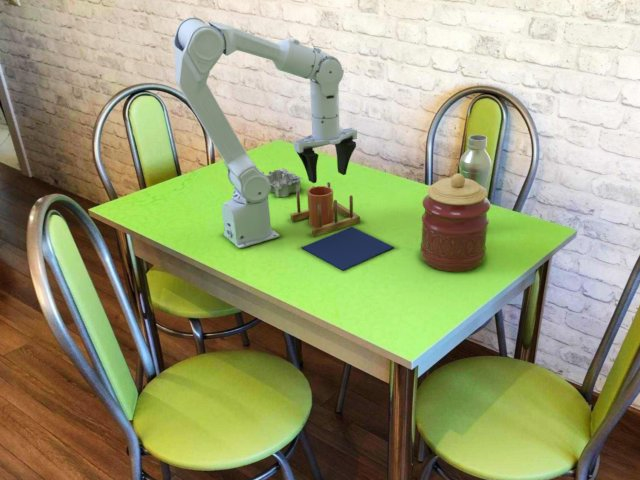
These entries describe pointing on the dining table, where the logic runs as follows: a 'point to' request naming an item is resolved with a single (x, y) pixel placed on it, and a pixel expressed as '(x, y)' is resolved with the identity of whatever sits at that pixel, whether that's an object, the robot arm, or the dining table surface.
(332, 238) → the cloth
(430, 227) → the kitchen canister
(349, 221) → the drying rack
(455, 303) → the dining table surface
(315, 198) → the tumbler
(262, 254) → the dining table surface
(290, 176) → the egg carton
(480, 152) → the plastic bottle
